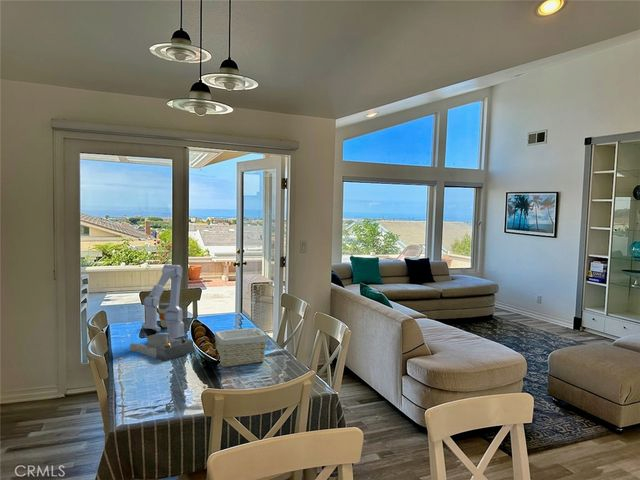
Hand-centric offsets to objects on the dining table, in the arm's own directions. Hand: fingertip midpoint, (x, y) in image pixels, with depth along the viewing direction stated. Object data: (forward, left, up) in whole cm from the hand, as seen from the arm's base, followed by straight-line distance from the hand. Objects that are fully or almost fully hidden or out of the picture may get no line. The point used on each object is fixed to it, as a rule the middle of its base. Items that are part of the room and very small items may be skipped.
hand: (151, 341), depth 237 cm
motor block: (0, +11, -3) cm, 11 cm away
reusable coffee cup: (-34, -31, -3) cm, 46 cm away
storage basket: (-14, +55, -3) cm, 57 cm away
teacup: (-1, +7, -3) cm, 8 cm away
